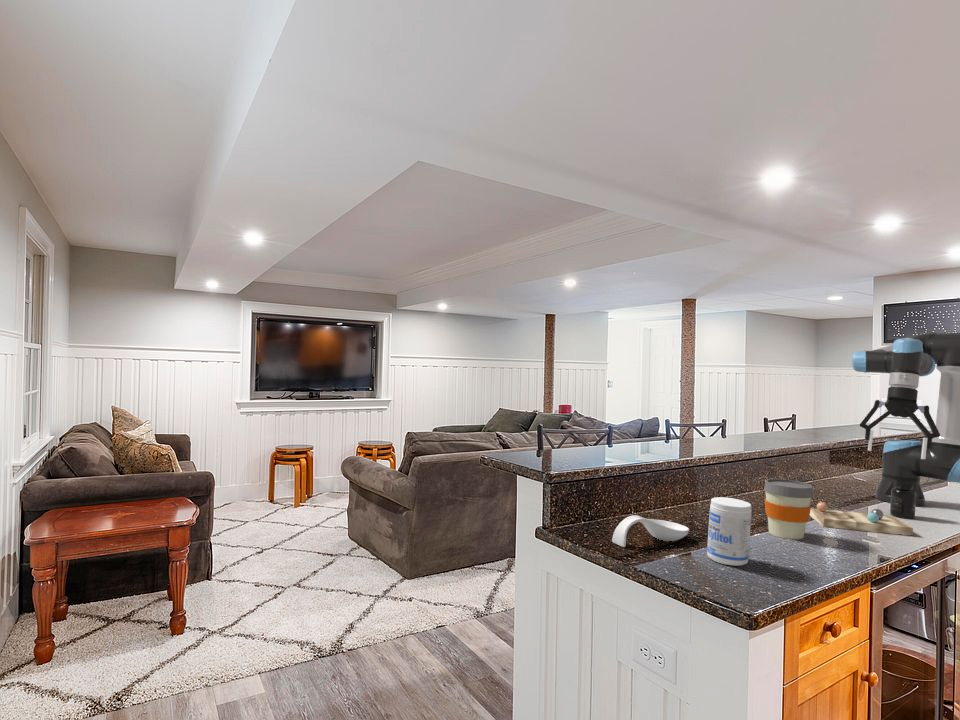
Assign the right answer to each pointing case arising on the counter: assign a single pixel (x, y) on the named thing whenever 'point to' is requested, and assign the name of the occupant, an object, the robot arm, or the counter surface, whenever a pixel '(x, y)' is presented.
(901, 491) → the supplement bottle
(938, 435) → the robot arm
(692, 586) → the counter surface
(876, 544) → the counter surface
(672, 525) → the spoon rest
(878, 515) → the steel ball
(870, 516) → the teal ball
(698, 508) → the counter surface
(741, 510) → the supplement tub
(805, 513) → the reusable coffee cup
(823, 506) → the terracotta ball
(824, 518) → the maple board
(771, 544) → the counter surface
